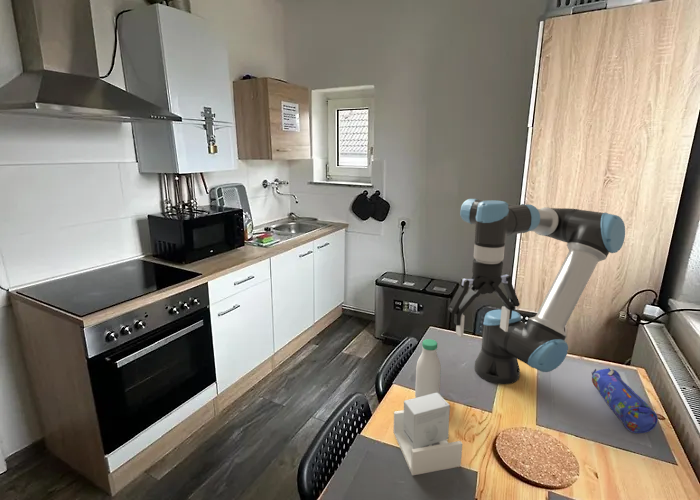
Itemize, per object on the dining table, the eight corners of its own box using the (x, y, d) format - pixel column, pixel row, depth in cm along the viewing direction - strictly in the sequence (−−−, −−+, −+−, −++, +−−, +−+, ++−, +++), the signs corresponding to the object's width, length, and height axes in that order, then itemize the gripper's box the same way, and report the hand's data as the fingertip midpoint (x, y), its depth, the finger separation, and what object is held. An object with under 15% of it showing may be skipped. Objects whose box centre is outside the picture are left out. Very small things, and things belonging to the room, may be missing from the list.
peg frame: (435, 425, 111) (437, 404, 109) (460, 466, 97) (462, 443, 95) (393, 432, 108) (393, 411, 106) (412, 475, 94) (413, 452, 92)
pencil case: (587, 387, 128) (592, 362, 125) (615, 389, 126) (620, 364, 124) (622, 434, 107) (629, 405, 104) (656, 438, 105) (663, 408, 103)
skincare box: (435, 423, 106) (437, 391, 103) (448, 439, 100) (451, 405, 97) (402, 432, 103) (403, 399, 100) (413, 450, 97) (415, 415, 94)
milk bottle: (439, 406, 119) (443, 349, 113) (414, 403, 120) (416, 347, 115) (438, 391, 126) (442, 337, 121) (415, 388, 127) (417, 335, 122)
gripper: (521, 252, 106) (513, 321, 112) (437, 259, 101) (434, 331, 107) (539, 260, 99) (530, 333, 105) (450, 268, 94) (446, 344, 100)
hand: (481, 332), depth 106 cm, fingers open, 13 cm apart
